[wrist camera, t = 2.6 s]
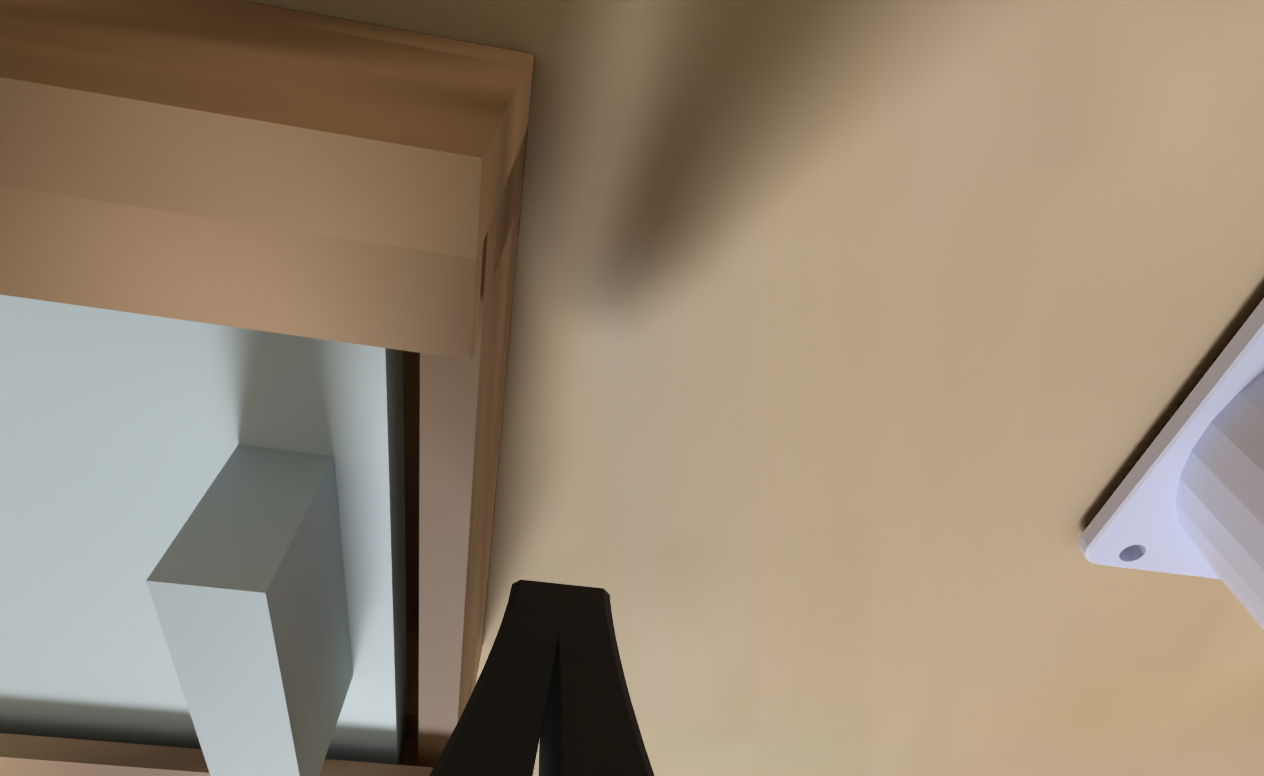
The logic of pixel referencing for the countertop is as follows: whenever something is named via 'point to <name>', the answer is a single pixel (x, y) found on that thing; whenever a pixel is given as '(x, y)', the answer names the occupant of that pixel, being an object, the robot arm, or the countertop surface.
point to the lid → (201, 539)
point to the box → (287, 253)
